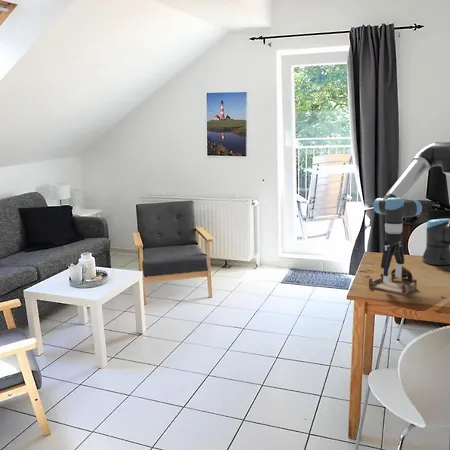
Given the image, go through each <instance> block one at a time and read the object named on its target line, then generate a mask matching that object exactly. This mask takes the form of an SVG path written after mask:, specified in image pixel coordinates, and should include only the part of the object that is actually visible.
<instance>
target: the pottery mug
mask: <svg viewBox="0 0 450 450" xmlns="http://www.w3.org/2000/svg"><path fill="white" fill-rule="evenodd" d="M390 279H391V281H394V280H397V279H399V278H396V277H395V268H393V269H392V270H390ZM400 279H407V280H409V281H411V284H412V283H413V279H414V277H413V274H412V272H411V271H410V269H409V268H406V267H405V266H403V265H402V273H401V278H400Z"/></svg>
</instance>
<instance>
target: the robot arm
mask: <svg viewBox="0 0 450 450" xmlns="http://www.w3.org/2000/svg"><path fill="white" fill-rule="evenodd" d="M433 167H441V172H442V173H443V174H445V178H446V185H447V186H446V187H447V193H448V201H449V204H450V141H446V142H445V141H443V142H439V141H437V142H432V143H430V144H428V145H427V146H425V147H423V148H422V149H421V150H419V152H417V153H416V154H415V156H414V157H412V159H411V164H410V165H409V166H408V167H407V169H406V170H405V171H404V172H403V173H401V176H400V177H398V179H397V181H395V183H394V184H393V185H392V186H391V188H390V189H389V190H388V191H387V192H386V194H385V195H384V196H383V197H378V198H376V199H375V200H374V202H373V204H372V209H373V211H374V212H375V213H376V214H381V215H384V216H385V217H384V219H385V221H384V222H385V223H384V231H385V233H384V241H386V242H387V245H383V248H382V249H383V252H382V258H381V264H380V269H383V282H384V283H390V282H391V280H390V279H391V269H390V265H391V262H392V261H393V260H392V259H393V256H394V260H395V262H396V263H395V265H394V269H395V273H394V274H395V277H396V278H398V279H402V278H401V273H402V266H403V265H404V264H405V253H404V242H403V233H402V232H403V231H404V229H403V228H404V227H403V226H404V223H403V222H404V221H403V220H404V218H414V217H417V216H420V214H421V213H422V211H423V205H422V203H421V202H420V201H419V200H417V199H410V200H408V199H407V200H405V199H404V198H405V197H406V196H407V194H408V193H409V192H410V191H411V189H412V188H413V187H414V186H415V185H416V183H417V182H418V181H419V180H420V179H421V177H422V176H423V175H424V174H425V172H428V171H430V170H431V168H433ZM425 239H426V240H425V241H426V244H425V245H426V246H425V249H424V252H423V254H422V262H423V263H425V264H429V265H433V266H434V265H435V266H437V265H438V266H439V265H440V266H446V265H450V218H436V219H435V218H434V219H430V220H428V221H427V222H426V238H425Z"/></svg>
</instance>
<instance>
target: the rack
mask: <svg viewBox="0 0 450 450" xmlns="http://www.w3.org/2000/svg"><path fill="white" fill-rule="evenodd" d="M383 273H384V272H383ZM383 273H380V277H376V278H374V279H373V278H372V277H369V278H368V288H369V289H374V290H377V291H382V292H387V293H392V294H397V295H402V296H405V295H407V294H409V293H411V292H414V291H415V290H417V287H418V285H417V284H418V283H417V282H418V280H417V278H413V283H412V282H411V283H410V284H408V285H407V284H404V283H399V282H398V283H397V282H391V281H390V283H384V282H383Z"/></svg>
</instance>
